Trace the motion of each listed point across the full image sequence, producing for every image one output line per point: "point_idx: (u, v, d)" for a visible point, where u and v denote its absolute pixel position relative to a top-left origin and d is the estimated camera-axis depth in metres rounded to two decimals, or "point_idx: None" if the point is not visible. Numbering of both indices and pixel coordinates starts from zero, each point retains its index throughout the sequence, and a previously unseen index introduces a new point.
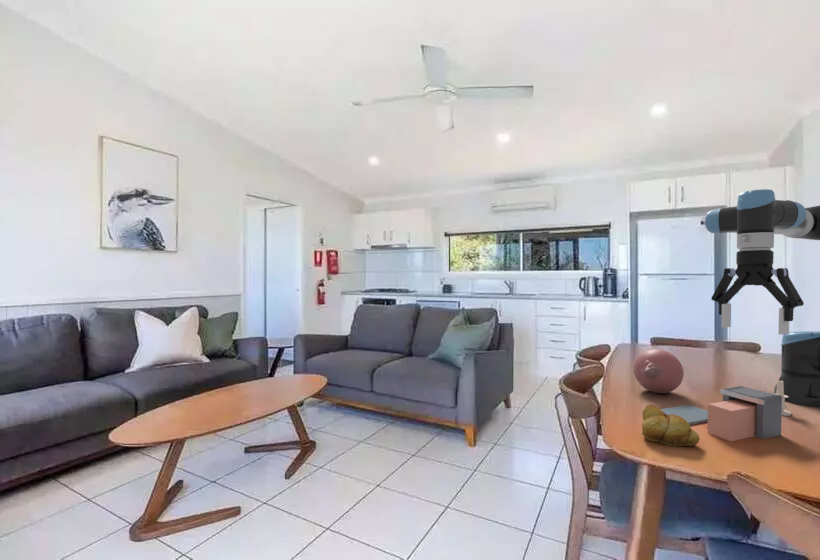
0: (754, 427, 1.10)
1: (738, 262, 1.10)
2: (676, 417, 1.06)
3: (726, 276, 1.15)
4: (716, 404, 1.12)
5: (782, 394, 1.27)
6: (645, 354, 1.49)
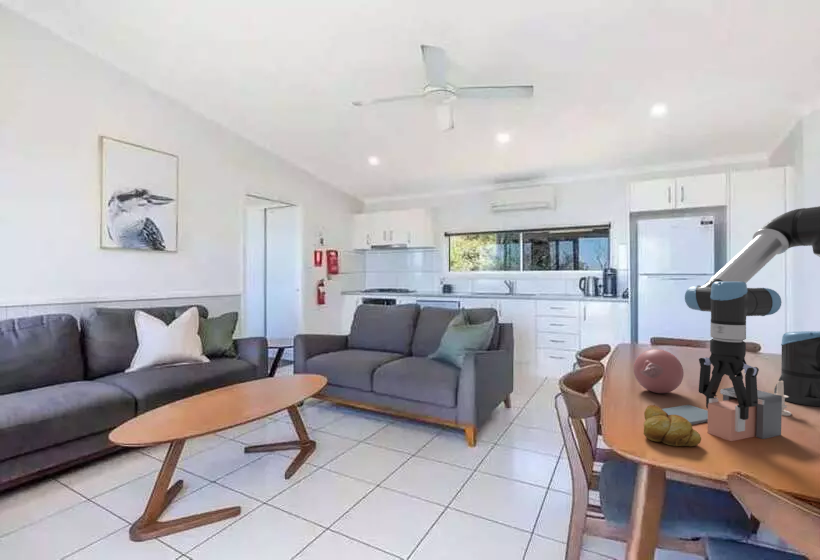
0: (754, 427, 1.10)
1: (711, 351, 1.11)
2: (678, 417, 1.06)
3: (703, 366, 1.15)
4: (716, 404, 1.12)
5: (782, 394, 1.27)
6: (645, 354, 1.49)
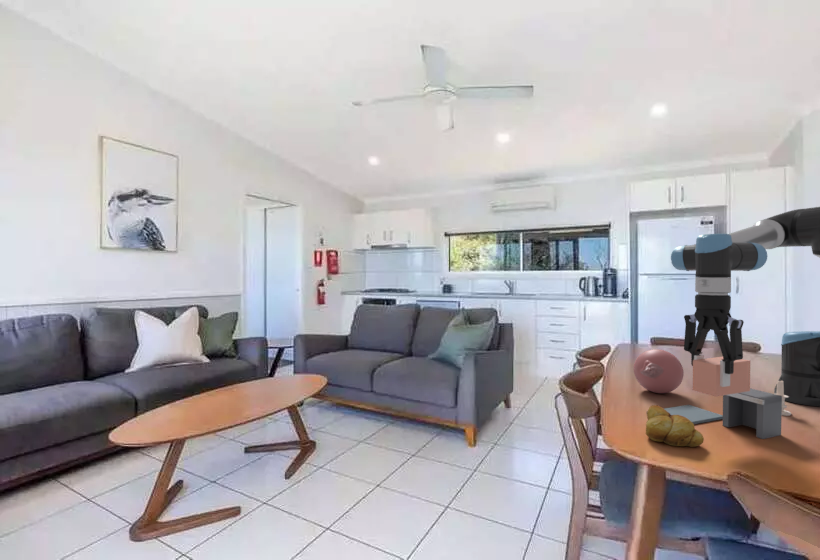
0: (740, 383, 1.08)
1: (696, 306, 1.09)
2: (680, 417, 1.06)
3: (688, 323, 1.13)
4: (701, 360, 1.10)
5: (782, 394, 1.27)
6: (645, 354, 1.49)
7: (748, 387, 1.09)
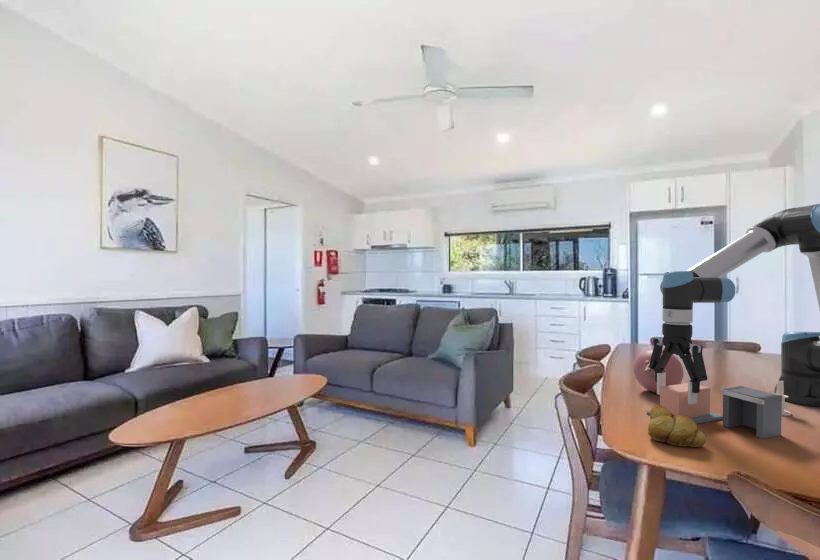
0: (700, 407, 1.23)
1: (663, 333, 1.24)
2: (682, 417, 1.05)
3: (656, 346, 1.28)
4: (667, 387, 1.25)
5: (782, 394, 1.27)
6: (645, 354, 1.49)
7: (708, 411, 1.24)
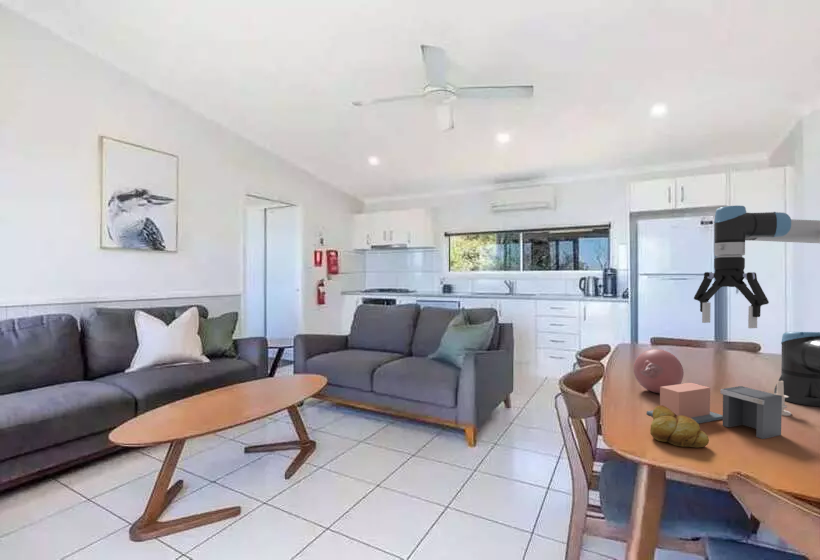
0: (700, 407, 1.23)
1: (715, 267, 1.30)
2: (685, 418, 1.05)
3: (706, 279, 1.34)
4: (667, 387, 1.25)
5: (782, 394, 1.27)
6: (645, 354, 1.49)
7: (708, 411, 1.24)
